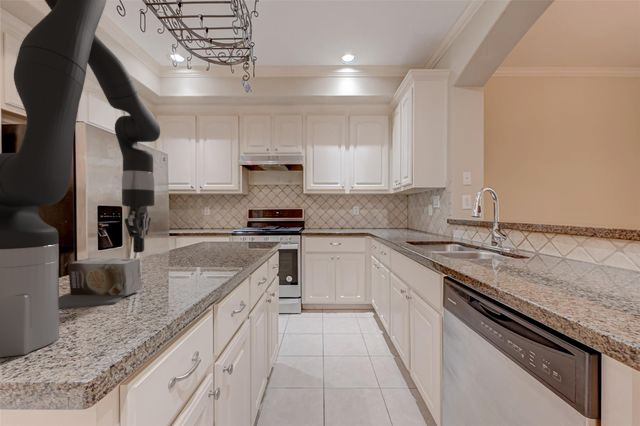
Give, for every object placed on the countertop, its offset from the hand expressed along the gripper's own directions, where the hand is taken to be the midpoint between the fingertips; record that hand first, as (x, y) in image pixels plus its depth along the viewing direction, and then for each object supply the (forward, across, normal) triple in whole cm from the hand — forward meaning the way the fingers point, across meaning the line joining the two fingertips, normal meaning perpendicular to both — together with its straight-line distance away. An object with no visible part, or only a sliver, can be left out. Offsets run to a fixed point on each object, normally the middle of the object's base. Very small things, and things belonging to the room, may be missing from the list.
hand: (139, 252), depth 78 cm
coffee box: (+7, +1, +2) cm, 7 cm away
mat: (+12, 0, +12) cm, 17 cm away
